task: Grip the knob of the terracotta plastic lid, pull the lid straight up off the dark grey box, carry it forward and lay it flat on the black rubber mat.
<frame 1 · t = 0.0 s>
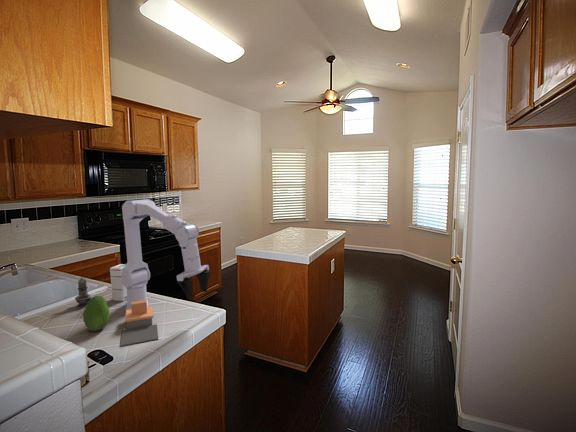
hand: (197, 294, 116), 11 cm above the countertop, tool pointing down, fingers open, 7 cm apart
box: (140, 322, 117), on the countertop
candlestick holder: (84, 305, 132), on the countertop
lid: (139, 314, 117), point 3 cm above the countertop, touching box
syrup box: (122, 298, 140), on the countertop
avocado: (97, 329, 112), on the countertop
mat: (139, 335, 108), on the countertop
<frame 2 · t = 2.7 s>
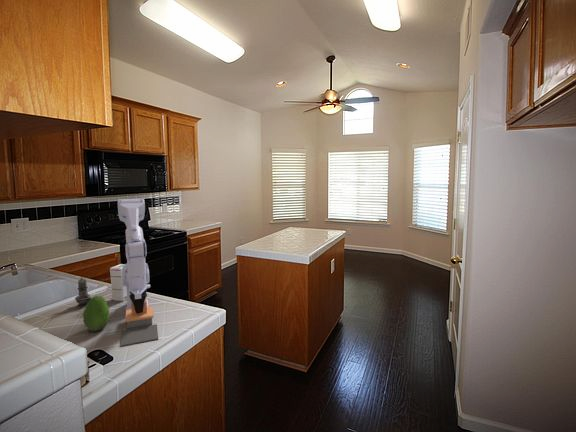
hand: (139, 311, 117), 4 cm above the countertop, tool pointing down, fingers closed on lid, 2 cm apart
lid: (139, 314, 117), point 3 cm above the countertop, touching box, gripper
everything else where it was.
when the fingers open (4 cm above the countertop, at t = 6.5 s): lid stays where it is, resting on mat.
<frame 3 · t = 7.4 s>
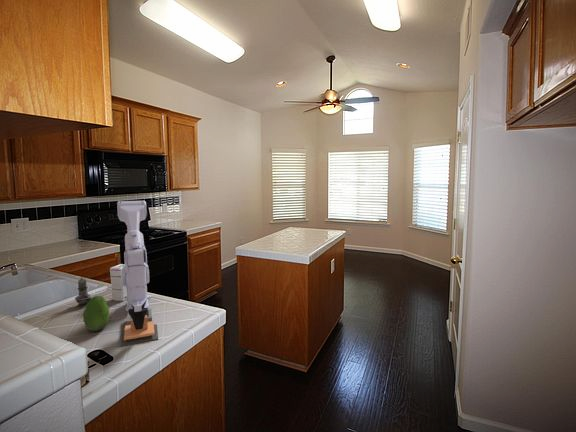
hand: (139, 323, 108), 4 cm above the countertop, tool pointing down, fingers open, 7 cm apart
lid: (139, 331, 108), point 1 cm above the countertop, touching mat
everything else where it was.
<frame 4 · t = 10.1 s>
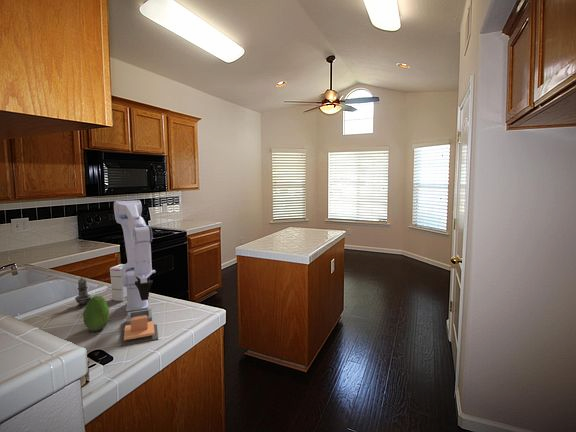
hand: (144, 296, 118), 9 cm above the countertop, tool pointing down, fingers open, 7 cm apart
nothing on the countertop moved.
at the end: lid 0.0 cm off-centre on the mat, point 1.4 cm above the mat's base; lid tilted 0°; the gripper is holding nothing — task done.
